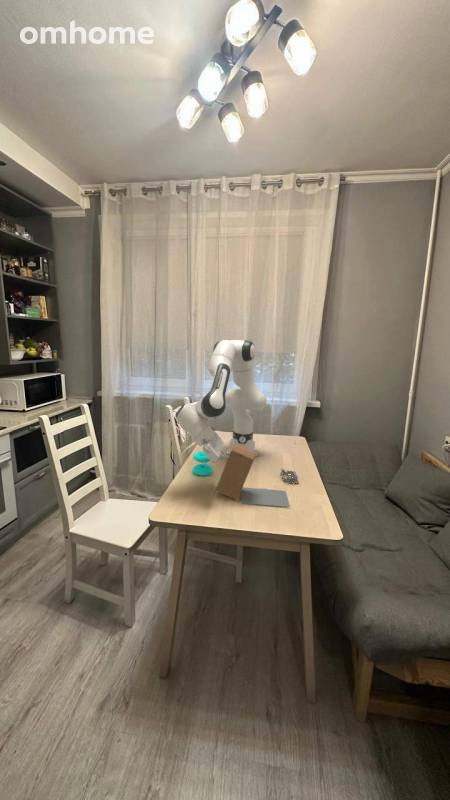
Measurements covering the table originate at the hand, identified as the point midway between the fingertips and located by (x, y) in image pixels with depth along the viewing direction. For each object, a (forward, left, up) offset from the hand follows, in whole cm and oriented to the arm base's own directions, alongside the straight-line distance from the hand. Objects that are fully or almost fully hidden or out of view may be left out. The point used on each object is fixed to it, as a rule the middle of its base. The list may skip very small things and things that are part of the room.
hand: (226, 460), depth 133 cm
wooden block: (0, +2, -14) cm, 14 cm away
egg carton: (-20, +31, -16) cm, 40 cm away
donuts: (-20, -13, -16) cm, 28 cm away
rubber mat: (+1, +17, -15) cm, 23 cm away
